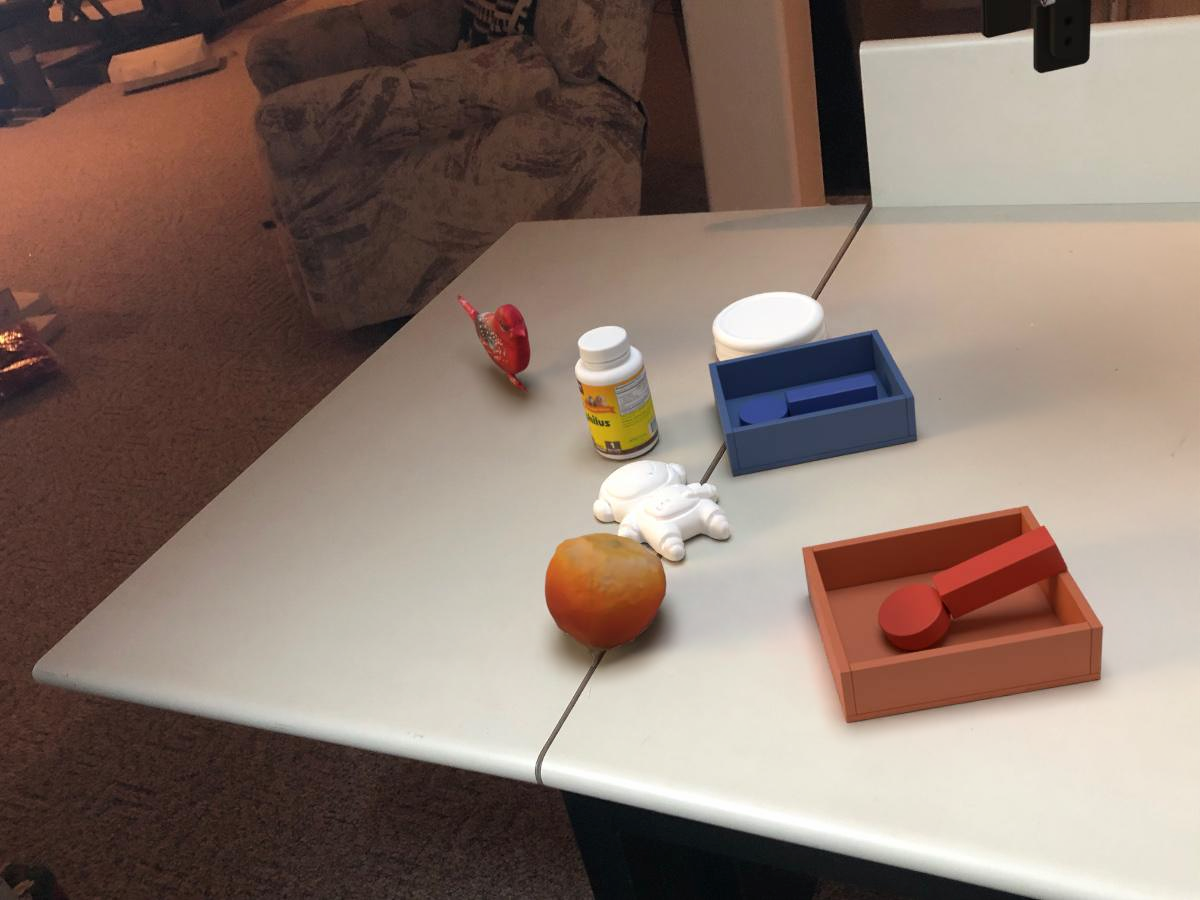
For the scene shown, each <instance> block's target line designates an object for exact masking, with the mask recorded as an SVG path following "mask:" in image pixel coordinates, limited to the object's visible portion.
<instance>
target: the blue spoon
mask: <svg viewBox="0 0 1200 900" xmlns="http://www.w3.org/2000/svg"><path fill="white" fill-rule="evenodd" d="M785 397H786V403H785V402H784V401H783V400H781V399H778V398H774V397H763V398H757V399H754V400H751V401H749V402H747V403H745V404H744V405H743V406H742V407H741V408H740V410H739V412H738V415H739V421H740V427H742V426H747V425H752V424H757V423H762V422H767V421H772V420H777V419H782V418H787V417H792V416H797V415H802V414H807V413H812V412H817V411H822V410H827V409H833V408H838V407H843V406H848V405H853V404H858V403H863V402H868V401H873V400H878V395H877V385H876V383H875V381H874V379H873V377H872V375H871V374H870V375H865V376H860V377H855V378H850V379H845V380H840V381H835V382H830V383H825V384H820V385H815V386H810V387H805V388H800V389H795V390H790V391H786V392H785Z"/></svg>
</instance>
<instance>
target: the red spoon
mask: <svg viewBox="0 0 1200 900" xmlns="http://www.w3.org/2000/svg"><path fill="white" fill-rule="evenodd" d="M1040 526H1041V527H1039V528H1037V529H1034V530H1032V531H1030V532H1028V533H1026V534H1023V535H1021V536H1019V537H1017V538H1015V539H1013V540H1010V541H1008V542H1006V543H1004V544H1002V545H1000V546H997V547H995V548H993V549H991V550H989V551H986V552H984V553H982V554H980V555H978V556H976V557H973V558H971V559H969V560H967V561H965V562H963V563H960V564H958V565H956V566H954V567H952V568H949V569H947V570H945V571H943V572H941V573H939V574H936V575H934V576H932V579H933V581H934V584H935V586H936V588H937V590H938V591H937V590H936V589H935V588H933V587H932V586H929V585H926V584H911V585H907V586H904V587H902V588H900V589H898V590H896V591H894V592H893V593H892V594H890V595H889V596H888V597H887V598H886V599H885V600H884V602H883V603H882V605H881V607H880V609H879V613H878V622H879V625H880V627H881V628H882V630H883V631H884V633H885V635H886V636H887V638H888V639H889V641H890V642H891V643H892V644H893V645H894V646H896V647H898V648H901V649H904V650H917V649H922V648H925V647H927V646H929V645H931V644H933V643H935V642H936V641H937V640H939V639H940V638H941V637H942V636H943V635H944V633H945V632H946V631H947V629H948V627H949V624H950V619H951V615H952V617H953V618H954V619H956V618H959V617H961V616H963V615H965V614H968V613H970V612H972V611H974V610H977V609H979V608H981V607H983V606H986V605H988V604H990V603H992V602H994V601H997V600H999V599H1001V598H1003V597H1006V596H1008V595H1010V594H1012V593H1015V592H1017V591H1019V590H1021V589H1024V588H1026V587H1028V586H1030V585H1033V584H1035V583H1037V582H1039V581H1042V580H1044V579H1046V578H1048V577H1051V576H1053V575H1055V574H1057V573H1060V572H1062V571H1064V570H1066V569H1068V568H1069V567H1068V565H1067V563H1066V561H1065V559H1064V557H1063V555H1062V553H1061V551H1060V549H1059V547H1058V545H1057V543H1056V541H1055V540H1054V538H1053V537H1052V535H1051V533H1050V532H1049V530H1048V529H1047V527H1046V525H1040ZM1068 570H1069V569H1068ZM950 614H951V615H950Z"/></svg>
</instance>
